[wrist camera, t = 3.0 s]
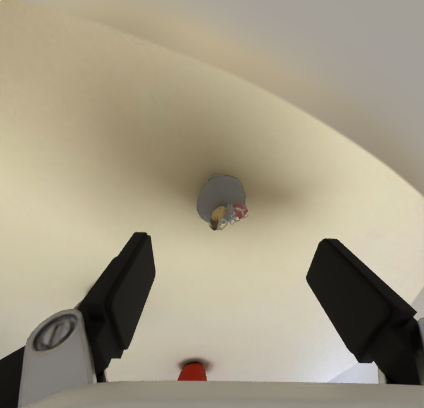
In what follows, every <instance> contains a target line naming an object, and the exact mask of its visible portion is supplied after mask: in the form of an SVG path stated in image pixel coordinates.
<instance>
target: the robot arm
mask: <svg viewBox="0 0 424 408" xmlns="http://www.w3.org/2000/svg"><path fill="white" fill-rule="evenodd" d="M154 278H155V264H154V257H153V250H152V243H151V237H150V235H147V233H145V232H135V233H134V234H133V235H132V237H131V238H130V240H129V241H128V242H127V244H126V245H125V247H124V248H123V249H122V251H121V252H120V254H119V255H118V256H117V257H115V258H114V259H113V260H112V261H111V262H110V264H109V265H108V266H107V268H106V269H105V271H104V272H103V273H102V275H101V276H100V277H99V279H98V280H97V281H96V283H95V284H94V286H93V287H92V288H91V290H90V291H89V292H88V294H87V295H86V296H85V298H84V299H83V300H82V302H81V303H80V305H79V306H78V307H77V309H68V310H63V311H60V312H58V313H55V314H54V315H52V316H50V317H49V318H47V319H46V320H44V321H43V322H42V323H41V324H39V325H38V326H37V328H36V329H35V330H34V331H33V332H32V333H31V335H30V336H29V338H28V339H27V342H26V345H25V346H24V347H22V348H20V349H18V350H17V351H15V352H13V353H11V354H10V355H8V356H6V357H5V358H3V359H1V360H0V408H424V318H421V319H419V320H418V321H417V320H416V319H414V318H413V316H414V315H415V314H416V313H417V312H416V311H415V310H414V309H413V308H412V307H411V306H410V305H409V304H408V303H407V302H405V301H404V300H403V299H402V298H401V297H400V296H399V295H398V294H397V293H396V292H395V291H393V290H392V289H391V288H390V287H389V286H388V285H387V284H386V283H385V282H384V281H382V280H381V279H380V278H379V277H378V276H377V275H376V274H375V273H374V272H373V271H371V270H370V269H369V268H368V267H367V266H366V265H365V264H364V263H363V262H362V261H361V260H359V259H358V258H357V257H356V256H355V255H354V254H353V253H352V252H351V251H350V250H348V249H347V248H346V247H345V246H344V245H343V244H342V243H341V242H340V241H339V240H337V239H326V238H325V239H323V240H322V241H320V243H319V245H318V247H317V250H316V252H315V255H314V258H313V260H312V263H311V265H310V268H309V270H308V273H307V276H306V280H307V282H308V284H309V286H310V288H311V289H312V291H313V292H314V294H315V296H316V297H317V299H318V301H319V302H320V304H321V306H322V307H323V309H324V311H325V312H326V314H327V316H328V317H329V319H330V320H331V322H332V324H333V325H334V327H335V329H336V330H337V332H338V334H339V335H340V337H341V339H342V340H343V342H344V344H345V345H346V347H347V348H348V350H349V351H350V352H351V353H352V354H354V356H355V357H356V359H357V361H358V362H359V363H372V362H373V361H374V362H375V363H376V365H377V366H378V378H379V379H378V380H379V384H356V383H308V382H246V381H117V382H108V378H107V373H106V368H107V367H108V366H109V363H110V361H111V359H112V358H120V359H121V356H122V354H123V351H124V350H126V349H128V347H129V345H130V343H131V340H132V338H133V335H134V332H135V329H136V327H137V324H138V321H139V319H140V316H141V313H142V311H143V308H144V305H145V303H146V300H147V297H148V295H149V292H150V289H151V286H152V284H153V281H154Z"/></svg>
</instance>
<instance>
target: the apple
mask: <svg viewBox="0 0 424 408" xmlns="http://www.w3.org/2000/svg"><path fill="white" fill-rule="evenodd" d="M177 381H207V378H206V373H205V370H204V367H203V366H202V365H201V364H200V363H192V364H188V365H186V366H185V367H184V368H183V369H182V371H181V373H180V375H179V378H178V380H177Z"/></svg>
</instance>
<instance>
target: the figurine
mask: <svg viewBox="0 0 424 408" xmlns="http://www.w3.org/2000/svg"><path fill="white" fill-rule="evenodd" d="M197 211H198V213H199V215H200V217H201V218H202V219H203V220H205V221H206V222H208V224H207V225H209V226H210V228H212V229H213V230H222V229H223V228H224V227H226V225H227V224H228V222H229V223H230V224H231V222H230V221H232V220H234V221H235V222H237V221H239V220H237V221H236V220H235V218H237V217H239V219H240V220H241V219H243V218H242V217H244V216H245V215H246V214H247V212H248V209H247V208H246V206H245V193H244V190H243V188H242V186H241V184H240V182H239V180H238V179H236V178H234V177H232V176H222V175H221V174H214V175H212V176H211V177H210V178H209V179H208V182H207V183H206V184H205V186H204V187H203V188H202V190H201V192H200V194H199V197H198V200H197ZM247 216H248V215H247ZM247 216H246V217H247ZM244 218H245V217H244ZM235 222H233V224H234V223H235ZM224 223H226V225H225V226H224V227H223V228H222V229H221V228H220V227H219V226H220V225H221V224H224ZM233 224H231V225H233Z"/></svg>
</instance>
